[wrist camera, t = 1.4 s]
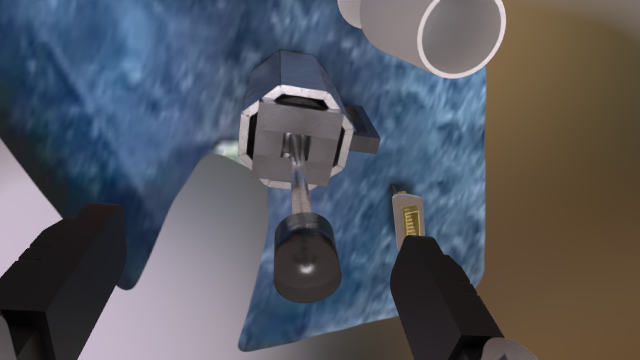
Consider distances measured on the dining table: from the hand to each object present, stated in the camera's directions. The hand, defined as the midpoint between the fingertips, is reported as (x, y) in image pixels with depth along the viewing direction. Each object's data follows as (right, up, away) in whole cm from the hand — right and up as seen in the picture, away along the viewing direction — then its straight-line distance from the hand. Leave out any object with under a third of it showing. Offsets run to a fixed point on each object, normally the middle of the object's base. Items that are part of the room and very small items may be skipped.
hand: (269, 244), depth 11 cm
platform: (+13, -1, +44) cm, 46 cm away
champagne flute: (+7, +22, +29) cm, 37 cm away
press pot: (-1, +12, +34) cm, 36 cm away
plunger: (-1, +6, +23) cm, 24 cm away
